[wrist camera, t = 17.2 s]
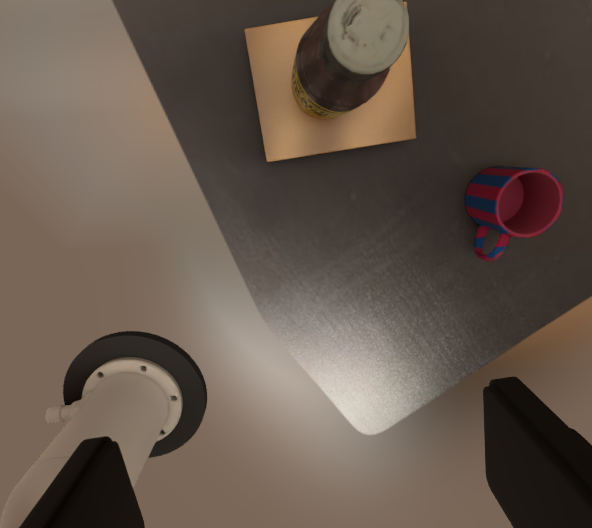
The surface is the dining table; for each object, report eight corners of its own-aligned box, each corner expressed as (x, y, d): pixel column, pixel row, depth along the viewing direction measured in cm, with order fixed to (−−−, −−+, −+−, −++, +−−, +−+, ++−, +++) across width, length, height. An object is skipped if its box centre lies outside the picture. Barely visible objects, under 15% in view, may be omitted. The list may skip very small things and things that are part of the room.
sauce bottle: (279, 69, 37) (271, -22, 18) (340, 37, 36) (398, -94, 17) (309, 135, 39) (331, 116, 19) (368, 105, 38) (449, 55, 19)
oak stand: (268, 161, 43) (266, 162, 39) (248, 41, 40) (244, 28, 36) (404, 139, 43) (416, 138, 39) (395, 16, 40) (406, 1, 36)
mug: (535, 185, 44) (578, 190, 38) (482, 260, 47) (514, 277, 40) (487, 155, 43) (523, 155, 37) (436, 233, 46) (461, 246, 39)
